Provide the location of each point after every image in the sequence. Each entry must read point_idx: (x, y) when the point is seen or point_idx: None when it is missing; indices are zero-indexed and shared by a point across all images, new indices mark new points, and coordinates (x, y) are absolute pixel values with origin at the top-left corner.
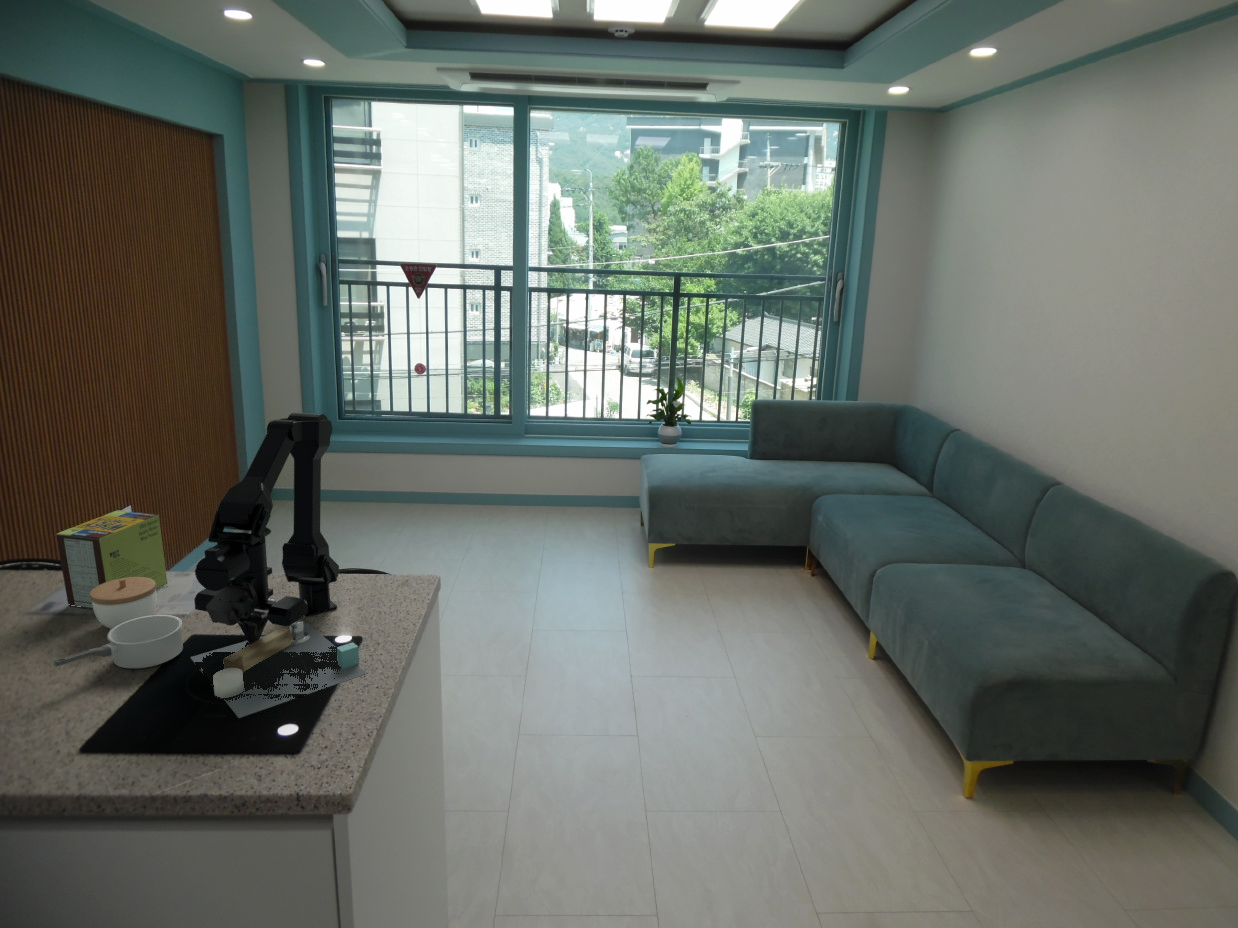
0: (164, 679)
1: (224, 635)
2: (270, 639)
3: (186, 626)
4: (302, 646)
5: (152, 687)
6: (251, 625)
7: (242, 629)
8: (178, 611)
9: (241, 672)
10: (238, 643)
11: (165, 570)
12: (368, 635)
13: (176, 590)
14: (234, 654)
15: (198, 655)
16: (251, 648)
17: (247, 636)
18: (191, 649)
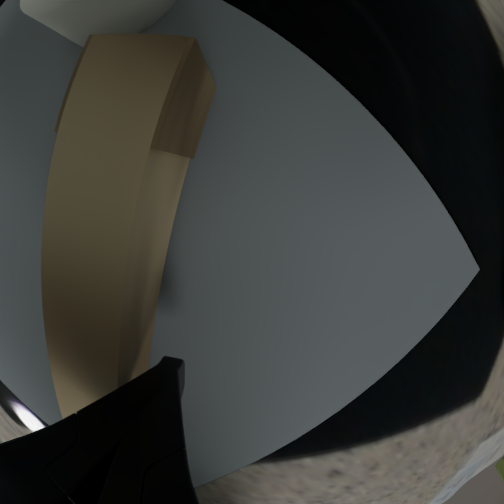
0: (477, 82)
1: (400, 431)
2: (62, 397)
3: (488, 414)
4: None
5: (469, 31)
6: (11, 476)
7: (173, 479)
8: (494, 438)
9: (24, 2)
10: (331, 413)
11: (502, 477)
12: (9, 422)
13: (488, 465)
14: (128, 138)
15: (457, 290)
16: (62, 277)
17: (154, 416)
18: (481, 329)
